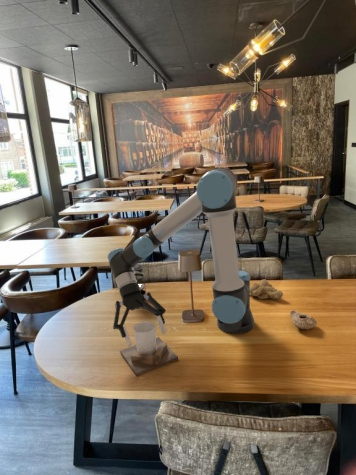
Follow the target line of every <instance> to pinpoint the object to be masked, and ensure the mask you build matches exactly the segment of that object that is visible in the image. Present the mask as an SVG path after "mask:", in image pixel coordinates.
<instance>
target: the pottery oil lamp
mask: <svg viewBox="0 0 356 475" xmlns="http://www.w3.org/2000/svg"><path fill="white" fill-rule="evenodd" d="M289 315H290V318H291V321H292V324H293V325H294V326H295V327H297V328H298V329H300V330H303V329H307V330H310V329H312V328H315V327H316V326H317V325H318V322H317V320H316V319H315V318H314V317H313V316H311V315H310V314H306V313H302V312H299V311H297V310H291V311H290V312H289Z"/></svg>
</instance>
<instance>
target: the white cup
mask: <svg viewBox="0 0 356 475" xmlns="http://www.w3.org/2000/svg"><path fill="white" fill-rule="evenodd" d="M133 334H134V336H133V337H134V340H135V345H136V347H137V352H138V353H140V354H148V355H153V354H154V353H155V351H156V338H157V336H156V334H157V332H156V324H155V323H154V322H152V321H140V322H138V323H136V324H135V325H134V326H133Z"/></svg>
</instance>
